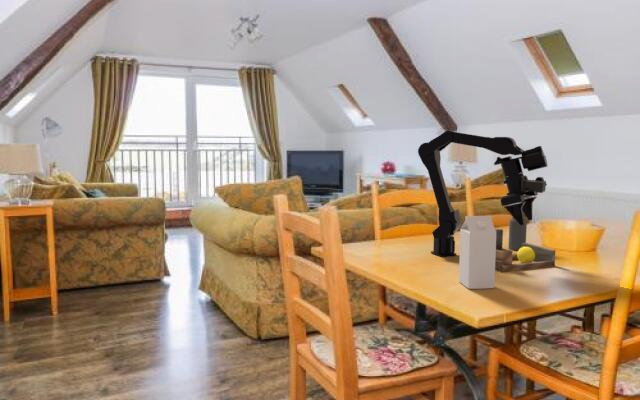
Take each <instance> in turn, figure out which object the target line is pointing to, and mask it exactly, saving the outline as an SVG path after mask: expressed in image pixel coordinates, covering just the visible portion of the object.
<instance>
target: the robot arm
mask: <svg viewBox="0 0 640 400" xmlns="http://www.w3.org/2000/svg"><path fill="white" fill-rule="evenodd" d="M452 143H454V144H458V145H464V146H469V147H476V148H483V149H484V150H488V151H490V152H492V153H495V154H499V155H501V156H504V157H501V156H497V158H496V160H495V161H494V162H493V165H494V166H498V165H501V166H500V167H501V169H502V175H503V176H504V180H503V185H506V188H507V193H506V195H504V196H502V197H501V198H500V203H501V206H502V207H503V208H504V209H506V210H507V211H508V213H510V214H509V215H510V216H511V215H512V216H513V217H514V218H515V219H516V221H517V222H518V223H519V224H520V225H524V219H525V218H526V219H527V220H528V221H533V204H534V201H535V200H536V198H537V196H538V195H539V194H540V193H541V194H543V193H544V192H546V186H547V185H548V184H547V180H545V179H544V177H543V176H537V177H536V178H535V179H528V176H527V175H524V172H523V171H524V170H525V169H527V171H528V172H531V171H535V170H539V169H543V168H548V161H547V156H546V155H545V153H544V150H543V148H542V145H538V146H535V147H533V148H530V149H526V150H524V149H523V148H521V147H520V146H518V145H517V143H516V141H515V139H514V138H512V137H509V136H482V135H476V134H469V133H465V132H464V133H463V132H458V131H454V130H450V129H449V130H445V131H444V132H442V133H441V134H440V135H438V136H436V137H435V138H432V139H431V140H430V141H429V142H423V143H421V144H420V145H419V146H418V148H417V153H418V157H420V158H419V159H420V160H421V162H422V165H424V167H425V168H426V170H427V173H428V176H429V179H430V183H431V187H432V190H433V193H434V197H435V200H436V204H437V209H438V216H437V218H438V226H437V227H436V228H435V229H434V230H433V231H432V237H433V250H432V251H430V253H431V254H433V255H436V256H439V257H449V256H457V253H456V252H455V251H456V249H455V248H456V241H455V236H454V235H455V233H456V232H457V231H458V230H460V229H461V227H462V224H461V222H462V221H463V219H462V217H461V215H460V210H459V209H454V207H453V206H452V203H451V200H450V196H449V193H448V190H447V186H446V182H445V178H444V175H443V172H442V169H441V168H442V167H441V161H442V160H441V157H442V156H441V151H443V150H445V148H447V147H448V146H450V144H452ZM508 155H509V156H508ZM511 155H512V156H518V157H514V158H513V157H512V156H511ZM505 156H506V157H505ZM538 193H539V194H538ZM523 213H524V214H525V217H524V218H523ZM512 216H511V217H512Z"/></svg>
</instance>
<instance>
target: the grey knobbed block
mask: <svg viewBox="0 0 640 400" xmlns="http://www.w3.org/2000/svg"><path fill="white" fill-rule="evenodd" d="M495 230H496V257H495V259H496V260H499V261H503V265H510V264H513V260H512V254H513V250H510V249H508V248H503V243H504V242H503V237H504V230H503V229H501V228H495Z"/></svg>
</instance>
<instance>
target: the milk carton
mask: <svg viewBox="0 0 640 400" xmlns="http://www.w3.org/2000/svg"><path fill="white" fill-rule="evenodd" d="M492 218H493V217H492V215H466V216H465V220H464V221H463V223H462V224H461V226H460V228H459V230H460V234H459V264H458V265H459V267H458V268H459V269H458V272H459V273H458V283H460V284H461V285H463V286H464V287H466V288H467V289H469V290H474V289H475V290H476V289H477V290H479V289H482V290H483V289H495V281H496V280H495V279H496V270H495V257H496V230H495V229H496V228H495V226H494V223H493V220H492Z"/></svg>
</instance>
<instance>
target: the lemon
mask: <svg viewBox="0 0 640 400" xmlns="http://www.w3.org/2000/svg"><path fill="white" fill-rule="evenodd" d="M516 254H517V257H518V259H517V260H518V261H519V262H521V263H529V262H534V261H533V260H534V259H535V252H534V251H533V250H532V248H530V247H522V248H520V249H519V250H518V251H517V252H516Z"/></svg>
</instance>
